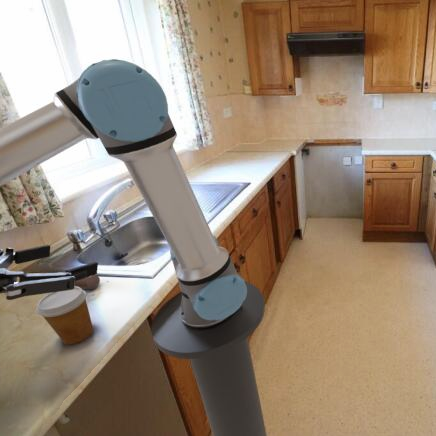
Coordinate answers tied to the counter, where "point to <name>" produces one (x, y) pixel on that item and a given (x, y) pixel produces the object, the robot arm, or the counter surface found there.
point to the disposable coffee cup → (67, 314)
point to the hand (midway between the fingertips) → (72, 259)
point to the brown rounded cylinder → (87, 282)
